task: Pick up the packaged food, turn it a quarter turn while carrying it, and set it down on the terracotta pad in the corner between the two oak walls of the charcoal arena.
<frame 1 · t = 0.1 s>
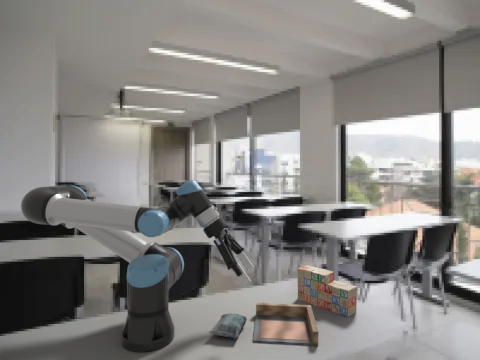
hand: (248, 275, 106), 15 cm above the table, fingers open, 13 cm apart
stack of blocks: (325, 306, 120), on the table
packaged food: (228, 333, 100), on the table
corner arena: (283, 328, 102), on the table
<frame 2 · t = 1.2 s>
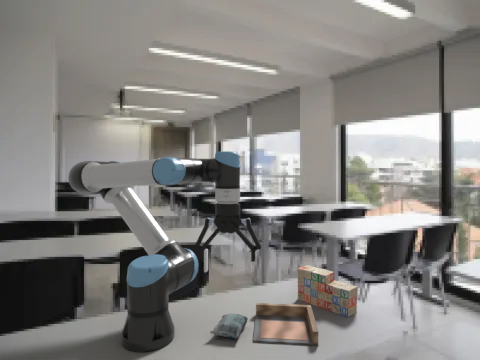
hand: (228, 271, 99), 19 cm above the table, fingers open, 13 cm apart
nothing on the table moved.
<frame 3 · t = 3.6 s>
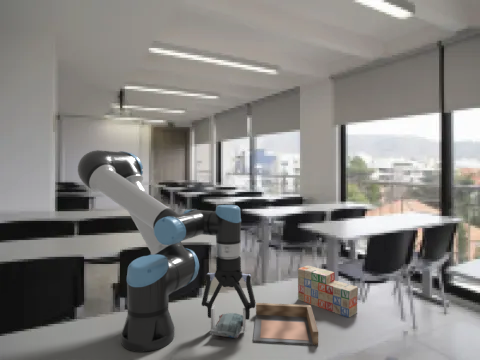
hand: (228, 328, 99), 1 cm above the table, fingers closed on packaged food, 9 cm apart
packaged food: (227, 333, 99), on the table, touching gripper
everything else where it was.
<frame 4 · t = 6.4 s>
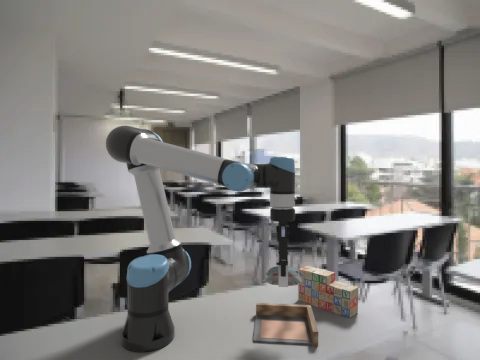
hand: (282, 280, 99), 16 cm above the table, fingers closed on packaged food, 9 cm apart
packaged food: (283, 285, 99), point 15 cm above the table, touching gripper
everything else where it was.
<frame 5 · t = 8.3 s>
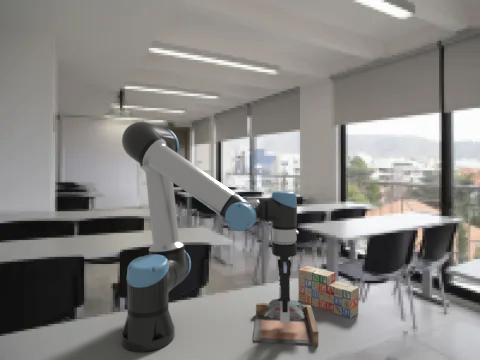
hand: (284, 314, 100), 5 cm above the table, fingers closed on packaged food, 9 cm apart
packaged food: (285, 318, 99), point 4 cm above the table, touching gripper
everything else where it was.
when the fingers open (3 cm above the table, at t = 9.7 s): packaged food drops 1 cm, resting on corner arena.
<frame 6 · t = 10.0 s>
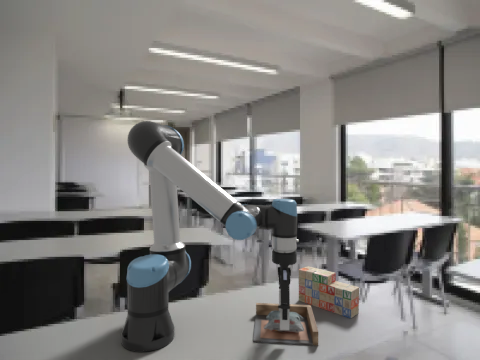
hand: (283, 319, 100), 4 cm above the table, fingers open, 12 cm apart
packaged food: (284, 330, 100), resting on corner arena
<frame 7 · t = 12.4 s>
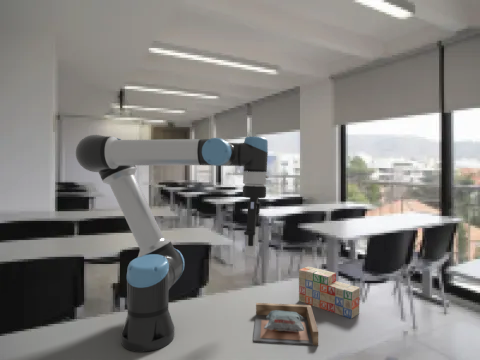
hand: (252, 250, 105), 24 cm above the table, fingers open, 13 cm apart
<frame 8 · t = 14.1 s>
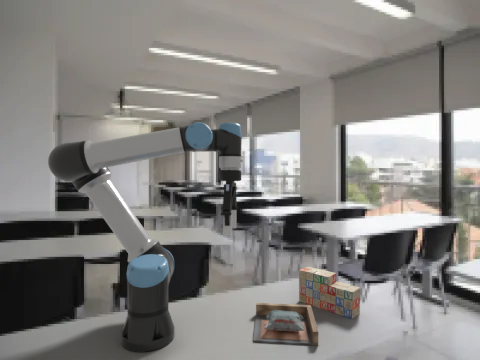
hand: (230, 231, 111), 29 cm above the table, fingers open, 13 cm apart
at the end: packaged food inside the target area (0.3 cm from its centre), resting on corner arena; packaged food touching corner arena; the gripper is holding nothing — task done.
